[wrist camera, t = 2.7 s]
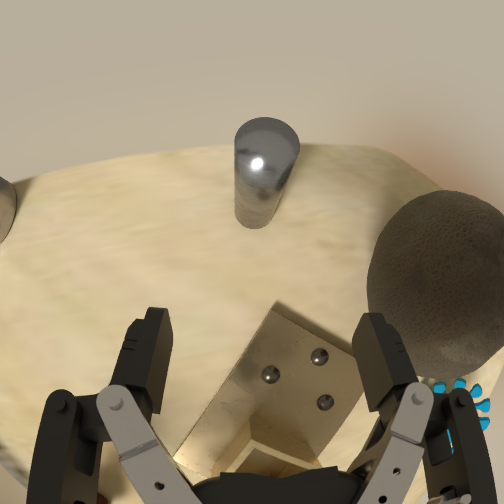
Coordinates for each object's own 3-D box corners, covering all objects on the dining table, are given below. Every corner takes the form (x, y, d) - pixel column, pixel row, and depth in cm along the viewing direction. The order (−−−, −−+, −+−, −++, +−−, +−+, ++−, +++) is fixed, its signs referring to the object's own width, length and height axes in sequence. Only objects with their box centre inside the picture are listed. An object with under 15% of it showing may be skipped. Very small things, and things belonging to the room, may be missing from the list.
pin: (227, 216, 26) (221, 150, 15) (247, 186, 27) (256, 108, 15) (260, 236, 26) (279, 183, 14) (280, 205, 27) (310, 136, 15)
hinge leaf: (173, 455, 22) (161, 482, 17) (270, 309, 25) (279, 311, 20) (275, 499, 21) (281, 529, 16) (373, 368, 25) (400, 379, 19)
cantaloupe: (458, 263, 27) (557, 236, 12) (417, 379, 24) (520, 411, 10) (366, 200, 28) (455, 123, 13) (309, 329, 25) (395, 356, 10)
